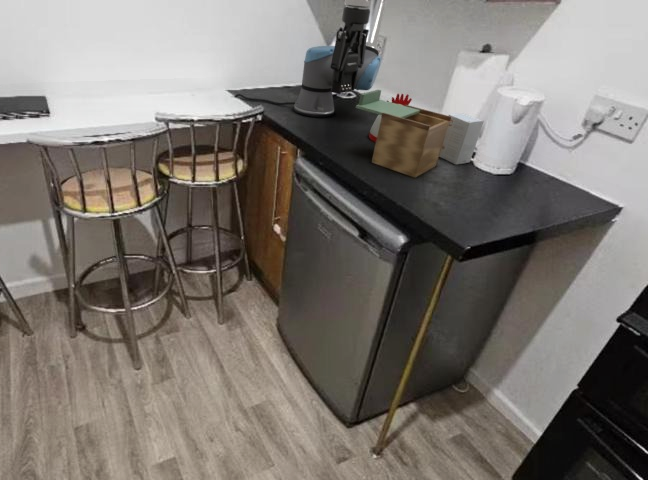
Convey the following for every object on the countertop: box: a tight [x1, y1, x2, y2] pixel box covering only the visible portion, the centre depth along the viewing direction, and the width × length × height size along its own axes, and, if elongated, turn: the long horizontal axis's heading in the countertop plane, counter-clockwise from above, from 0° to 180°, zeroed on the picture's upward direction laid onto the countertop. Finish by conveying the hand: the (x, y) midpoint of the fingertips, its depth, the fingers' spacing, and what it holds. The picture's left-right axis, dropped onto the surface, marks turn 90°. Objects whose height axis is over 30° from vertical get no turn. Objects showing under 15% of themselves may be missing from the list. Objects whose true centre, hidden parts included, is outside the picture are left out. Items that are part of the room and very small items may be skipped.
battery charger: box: [331, 51, 359, 94], centre depth 138 cm, size 7×4×11 cm, turn 124°
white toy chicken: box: [368, 93, 413, 143], centre depth 150 cm, size 14×14×15 cm
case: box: [371, 104, 451, 179], centre depth 131 cm, size 14×14×15 cm
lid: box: [355, 89, 420, 118], centre depth 132 cm, size 14×13×4 cm
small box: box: [439, 113, 485, 166], centre depth 138 cm, size 8×6×13 cm
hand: (343, 90), depth 141 cm, fingers closed on battery charger, 7 cm apart
